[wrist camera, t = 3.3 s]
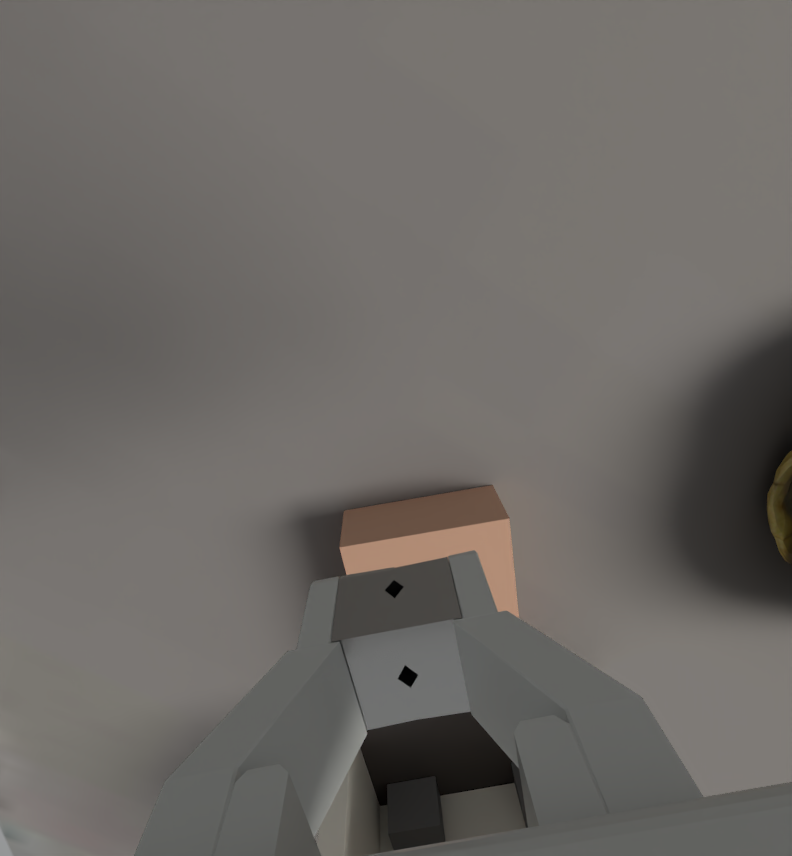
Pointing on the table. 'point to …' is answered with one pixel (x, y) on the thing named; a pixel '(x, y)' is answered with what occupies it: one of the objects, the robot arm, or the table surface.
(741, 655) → the table surface
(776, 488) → the turtle shell
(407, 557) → the tan rectangular block
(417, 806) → the stop blocks
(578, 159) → the table surface
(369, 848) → the white storage bin
